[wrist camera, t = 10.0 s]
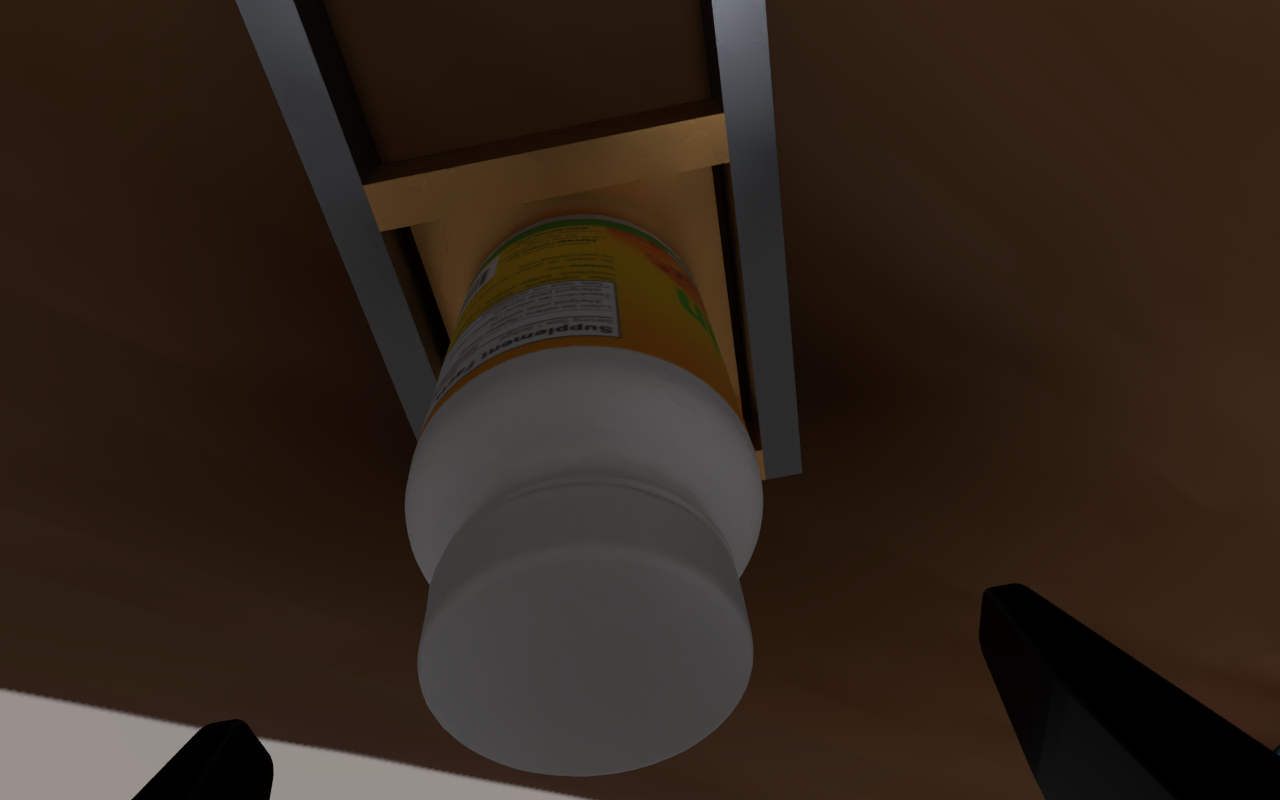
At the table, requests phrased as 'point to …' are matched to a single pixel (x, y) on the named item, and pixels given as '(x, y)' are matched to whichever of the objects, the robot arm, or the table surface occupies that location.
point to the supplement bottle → (583, 508)
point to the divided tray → (553, 203)
